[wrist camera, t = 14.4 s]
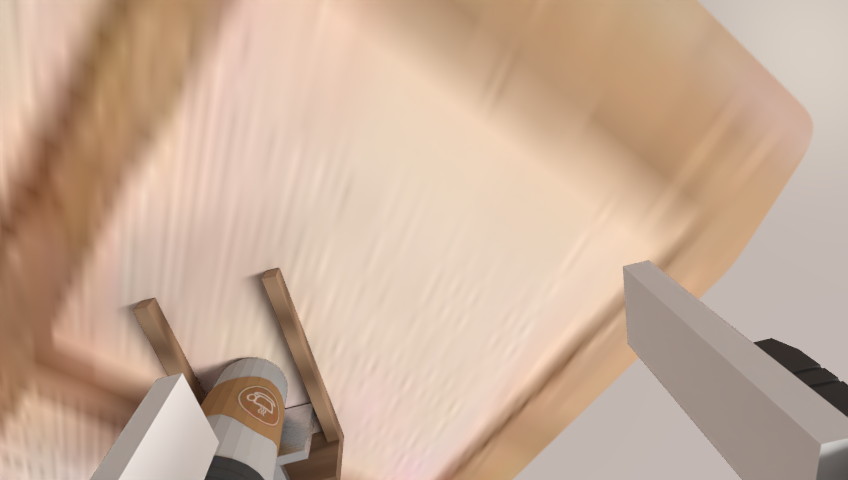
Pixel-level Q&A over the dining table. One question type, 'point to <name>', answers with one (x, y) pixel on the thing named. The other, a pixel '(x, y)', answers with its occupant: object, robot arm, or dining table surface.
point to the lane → (323, 465)
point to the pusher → (294, 438)
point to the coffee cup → (246, 420)
